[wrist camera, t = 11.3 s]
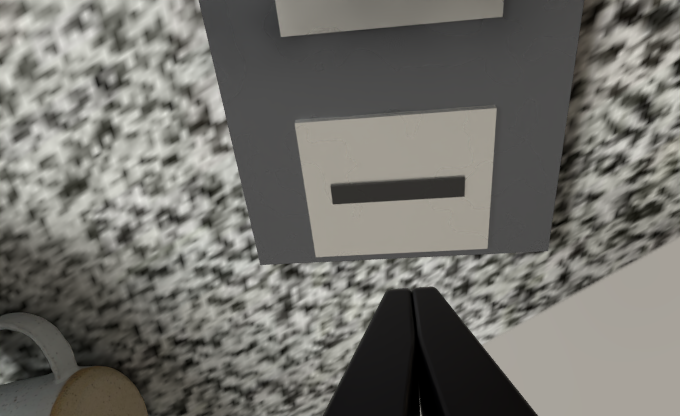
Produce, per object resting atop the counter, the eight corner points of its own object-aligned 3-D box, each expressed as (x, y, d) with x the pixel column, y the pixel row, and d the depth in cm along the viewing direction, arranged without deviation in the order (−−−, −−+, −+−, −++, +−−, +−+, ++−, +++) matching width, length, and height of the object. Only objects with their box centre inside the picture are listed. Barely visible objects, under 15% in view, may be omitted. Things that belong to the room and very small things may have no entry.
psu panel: (266, 243, 23) (258, 271, 22) (169, -200, 15) (144, -209, 13) (537, 229, 22) (551, 257, 21) (600, -260, 14) (630, -279, 12)
